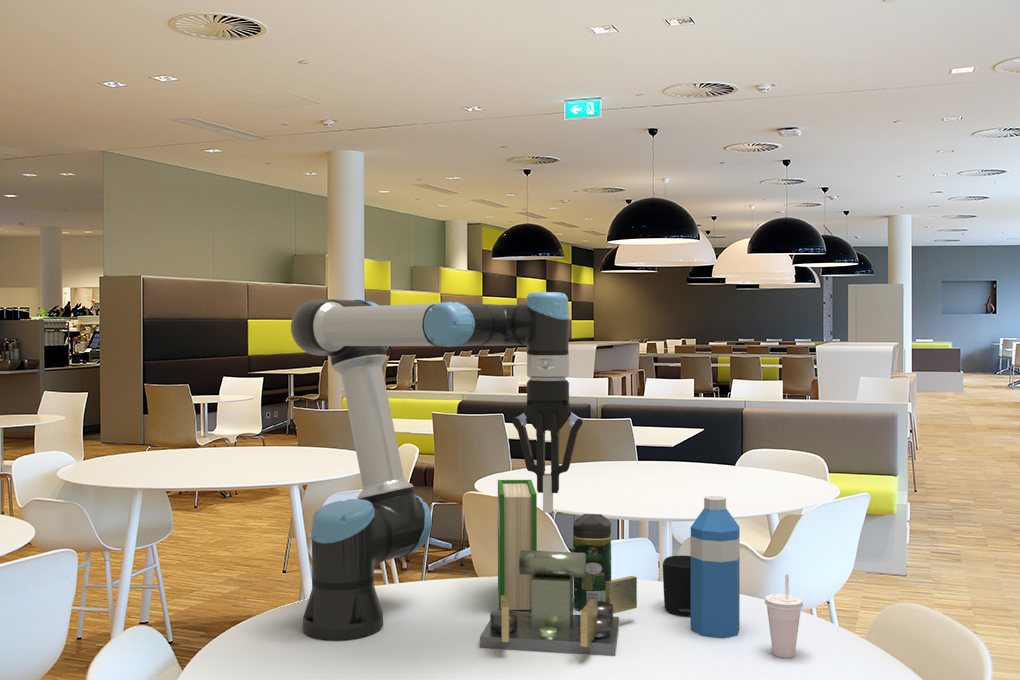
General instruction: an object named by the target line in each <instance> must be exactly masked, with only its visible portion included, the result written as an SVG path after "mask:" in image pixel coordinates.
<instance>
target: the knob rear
mask: <svg viewBox="0 0 1020 680" xmlns="http://www.w3.org/2000/svg"><path fill="white" fill-rule="evenodd" d="M637 580H638V577H637V576H635V575H630V576H626V577H625V576H624V577H621V578H615V579H611V580H610V581H606V602H604V601H597V614H600V615H605V616H608V617H610V618H611V621H612V620H613V616H614V614H618V613H621V612H626V611H629V610H634V609H637V608H638V605H637V602H638V597H637V595H638V593H637V592H638V589H637V588H638V581H637Z"/></svg>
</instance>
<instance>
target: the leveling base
mask: <svg viewBox="0 0 1020 680" xmlns="http://www.w3.org/2000/svg"><path fill="white" fill-rule="evenodd" d="M519 572H520V574H521V575H534V576H533V578H532V610H531V611H517V610H514V611H515V612H517V629H516V630H514V631H511V632H509V642H502V638H501V632H497V631H493V630H491V629H490V619H489V621H488V622H487V624H486V625H485V627H484V629H483V630H482V633H481V634H480V636H479V648H482V649H497V650H516V651H531V652H532V651H533V652H545V653H546V652H550V653H564V654H565V653H566V654H581V655H582V654H583V655H599V656H601V655H602V656H616V653H617V645H618V638H619V630H620V628H619V627H620V616H614V615H613V620H612V621H611V634H610V635H609V636H606V637H595V638H594V639H593V640H592V642H591V643H590V644H589V646H588V647H583V646H581V614H574V579H573V577H585V573H586V554H585V553H577V552H573V551H571V552H570V551H549V550H537V551H527V550H521V552H520V557H519ZM496 610H497V609H495V610H494V611H496Z"/></svg>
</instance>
